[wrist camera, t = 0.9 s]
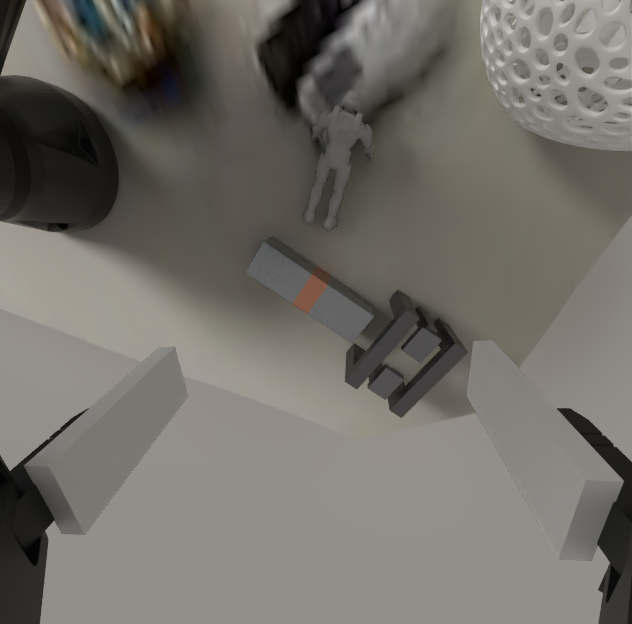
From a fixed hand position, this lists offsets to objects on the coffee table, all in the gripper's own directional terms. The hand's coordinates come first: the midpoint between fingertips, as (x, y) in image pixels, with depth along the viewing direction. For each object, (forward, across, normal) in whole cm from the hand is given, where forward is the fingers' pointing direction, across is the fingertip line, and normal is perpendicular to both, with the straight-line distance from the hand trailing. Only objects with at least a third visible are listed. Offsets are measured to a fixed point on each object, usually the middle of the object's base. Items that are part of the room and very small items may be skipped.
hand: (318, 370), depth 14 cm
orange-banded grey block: (+24, -3, -3) cm, 24 cm away
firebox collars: (+23, +7, -10) cm, 26 cm away
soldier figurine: (+24, 0, +9) cm, 26 cm away
